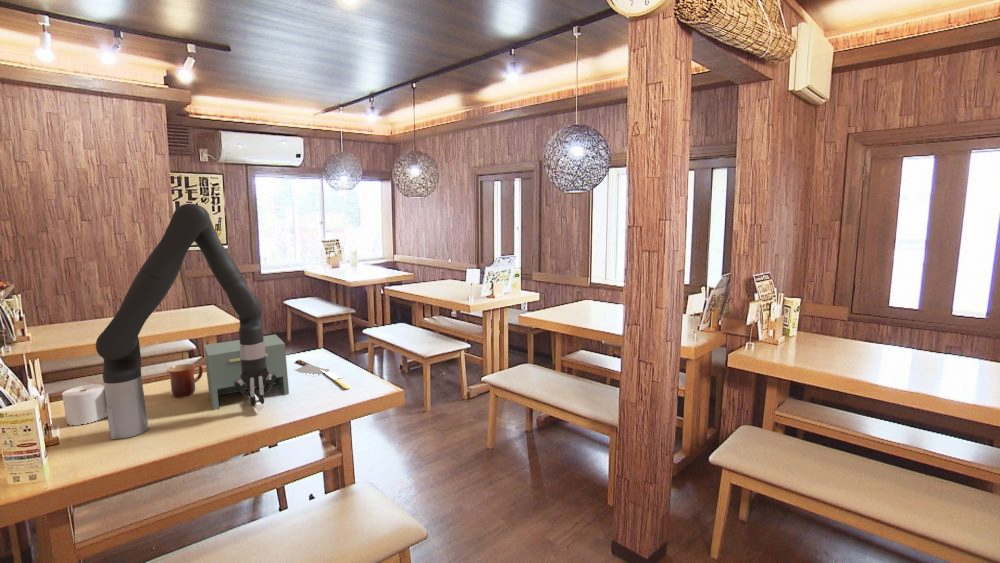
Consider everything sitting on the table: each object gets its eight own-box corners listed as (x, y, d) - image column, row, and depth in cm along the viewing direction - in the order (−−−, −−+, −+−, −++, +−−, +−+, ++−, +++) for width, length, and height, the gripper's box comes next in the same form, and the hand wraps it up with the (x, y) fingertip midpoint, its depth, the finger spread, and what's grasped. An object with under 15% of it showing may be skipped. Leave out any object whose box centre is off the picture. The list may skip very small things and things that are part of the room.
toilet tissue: (70, 416, 168) (65, 387, 167) (115, 409, 174) (111, 381, 173) (63, 428, 159) (58, 398, 158) (110, 420, 165) (106, 390, 164)
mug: (179, 400, 181) (176, 372, 179) (164, 396, 185) (161, 369, 183) (211, 389, 191) (208, 363, 190) (196, 386, 195) (193, 360, 194)
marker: (252, 399, 180) (260, 412, 167) (246, 397, 179) (254, 410, 166) (255, 392, 181) (264, 404, 168) (249, 390, 180) (258, 402, 167)
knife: (327, 364, 217) (316, 365, 214) (356, 385, 190) (343, 386, 187) (327, 367, 217) (316, 368, 214) (355, 389, 190) (343, 390, 187)
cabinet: (214, 410, 172) (208, 355, 169) (209, 395, 185) (203, 345, 182) (289, 394, 185) (285, 343, 182) (279, 381, 198) (275, 334, 195)
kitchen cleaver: (281, 364, 218) (303, 358, 225) (281, 367, 218) (304, 360, 225) (309, 377, 202) (332, 370, 209) (309, 380, 202) (332, 372, 209)
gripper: (231, 362, 160) (236, 414, 163) (277, 354, 168) (281, 404, 171) (228, 356, 166) (233, 407, 169) (272, 349, 174) (276, 397, 177)
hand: (257, 405), depth 170 cm, fingers closed on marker, 1 cm apart
